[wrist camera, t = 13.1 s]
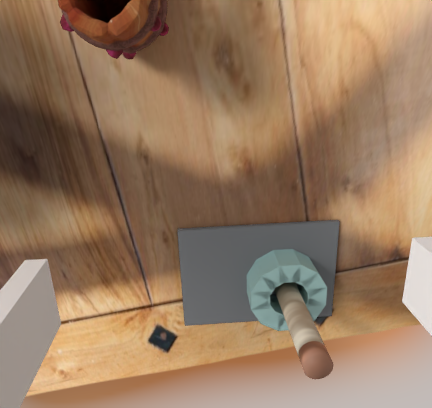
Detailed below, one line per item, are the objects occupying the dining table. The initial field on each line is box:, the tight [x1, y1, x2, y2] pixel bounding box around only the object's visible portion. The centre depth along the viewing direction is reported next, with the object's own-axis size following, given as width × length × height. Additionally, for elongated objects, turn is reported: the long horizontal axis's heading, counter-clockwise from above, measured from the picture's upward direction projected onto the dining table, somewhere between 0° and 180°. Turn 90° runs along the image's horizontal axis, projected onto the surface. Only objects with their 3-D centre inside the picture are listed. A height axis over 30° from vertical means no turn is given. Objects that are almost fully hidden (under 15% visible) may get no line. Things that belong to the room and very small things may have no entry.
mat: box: [178, 220, 339, 326], centre depth 50 cm, size 20×14×1 cm
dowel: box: [274, 282, 333, 379], centre depth 44 cm, size 3×3×15 cm
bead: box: [247, 249, 327, 331], centre depth 49 cm, size 9×9×4 cm
